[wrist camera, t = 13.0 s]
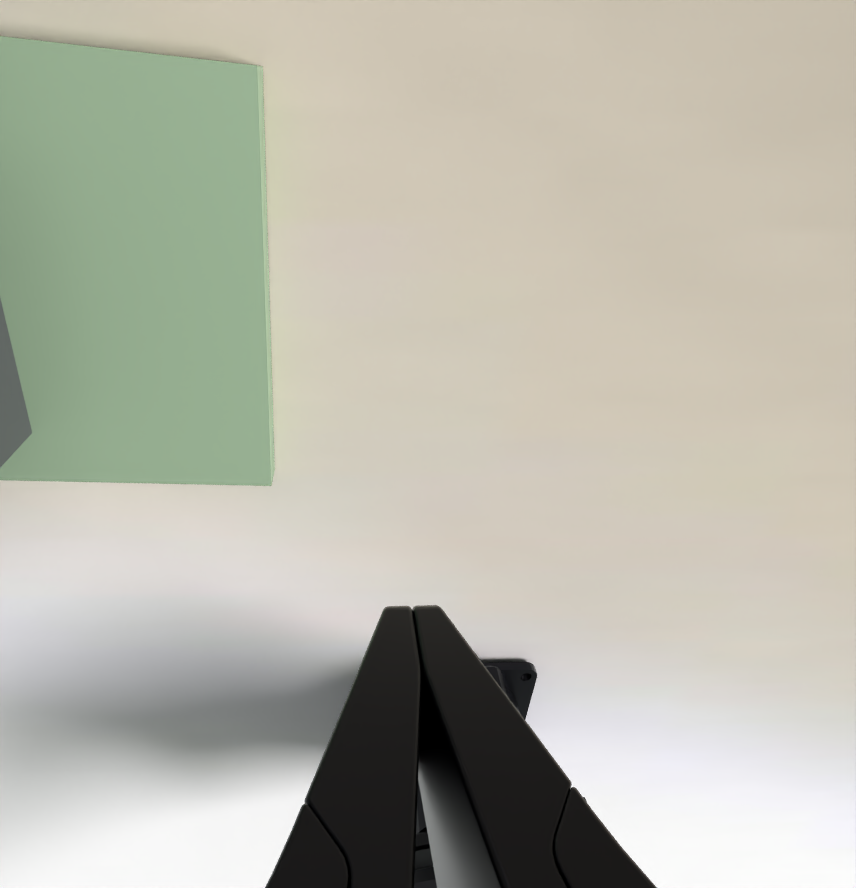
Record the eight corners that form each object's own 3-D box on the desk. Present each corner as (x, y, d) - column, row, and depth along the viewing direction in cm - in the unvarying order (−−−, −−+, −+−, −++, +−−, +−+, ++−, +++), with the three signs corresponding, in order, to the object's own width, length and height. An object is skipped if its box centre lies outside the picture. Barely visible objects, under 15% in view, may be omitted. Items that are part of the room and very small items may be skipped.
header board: (274, 469, 21) (255, 566, 17) (-110, 459, 20) (-239, 565, 15) (262, 66, 15) (228, 60, 11) (-290, 3, 14) (-580, -33, 9)
